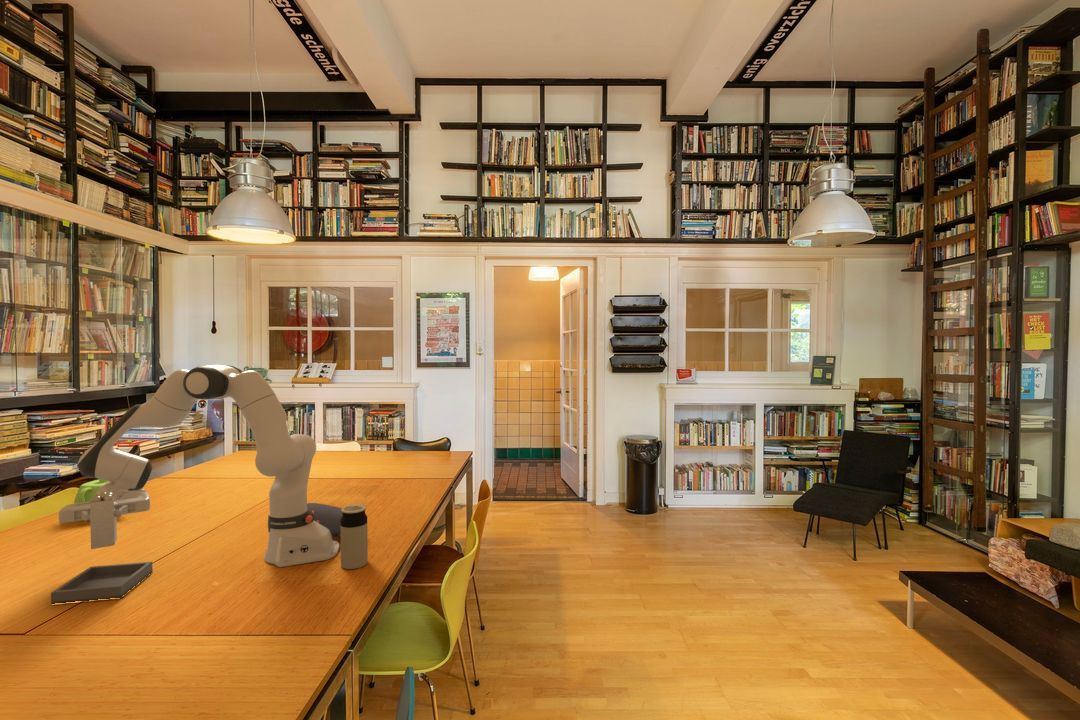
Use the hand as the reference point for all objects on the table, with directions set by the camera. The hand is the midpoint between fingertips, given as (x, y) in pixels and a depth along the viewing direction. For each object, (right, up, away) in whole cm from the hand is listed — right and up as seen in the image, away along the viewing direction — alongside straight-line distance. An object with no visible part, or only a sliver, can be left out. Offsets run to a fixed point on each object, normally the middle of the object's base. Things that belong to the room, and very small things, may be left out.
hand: (103, 515), depth 141 cm
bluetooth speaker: (+45, -20, +43) cm, 66 cm away
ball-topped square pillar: (-1, -8, +1) cm, 8 cm away
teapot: (-52, -19, +65) cm, 85 cm away
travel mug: (+65, -21, +17) cm, 70 cm away
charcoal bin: (-1, -21, +1) cm, 21 cm away
